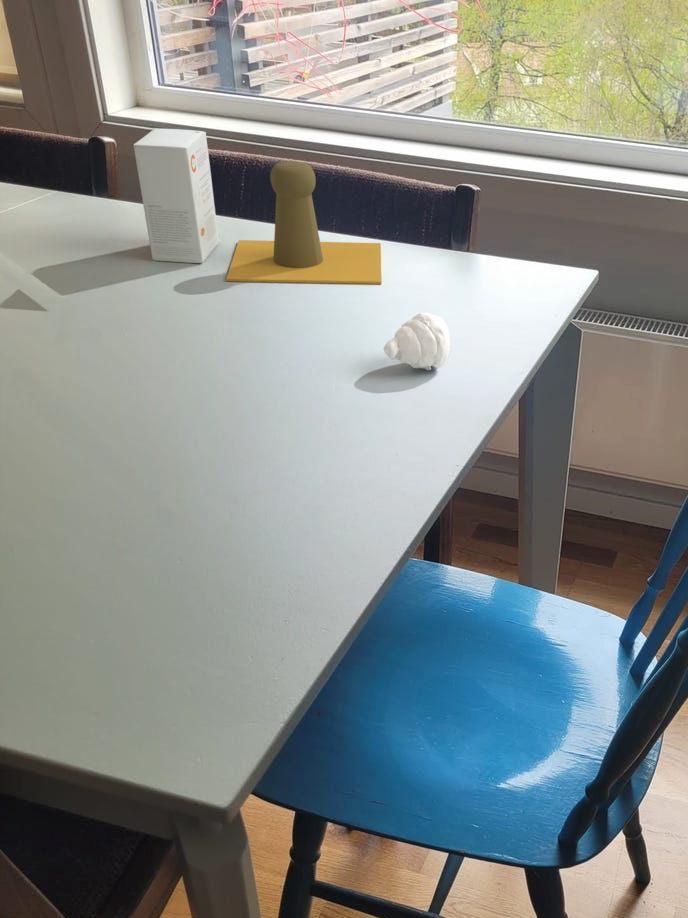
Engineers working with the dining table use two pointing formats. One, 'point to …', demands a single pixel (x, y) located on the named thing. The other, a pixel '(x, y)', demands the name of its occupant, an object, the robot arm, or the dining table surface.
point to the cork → (295, 216)
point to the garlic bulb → (421, 342)
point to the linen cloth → (337, 267)
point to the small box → (177, 194)
